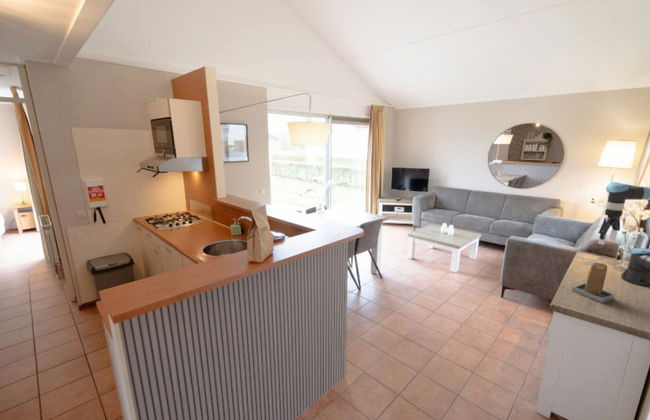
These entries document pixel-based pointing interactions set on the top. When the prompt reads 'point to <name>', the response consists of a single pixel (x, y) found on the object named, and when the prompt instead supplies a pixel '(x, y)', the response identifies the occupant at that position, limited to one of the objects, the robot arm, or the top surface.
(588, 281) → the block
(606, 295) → the tray
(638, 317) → the top surface
